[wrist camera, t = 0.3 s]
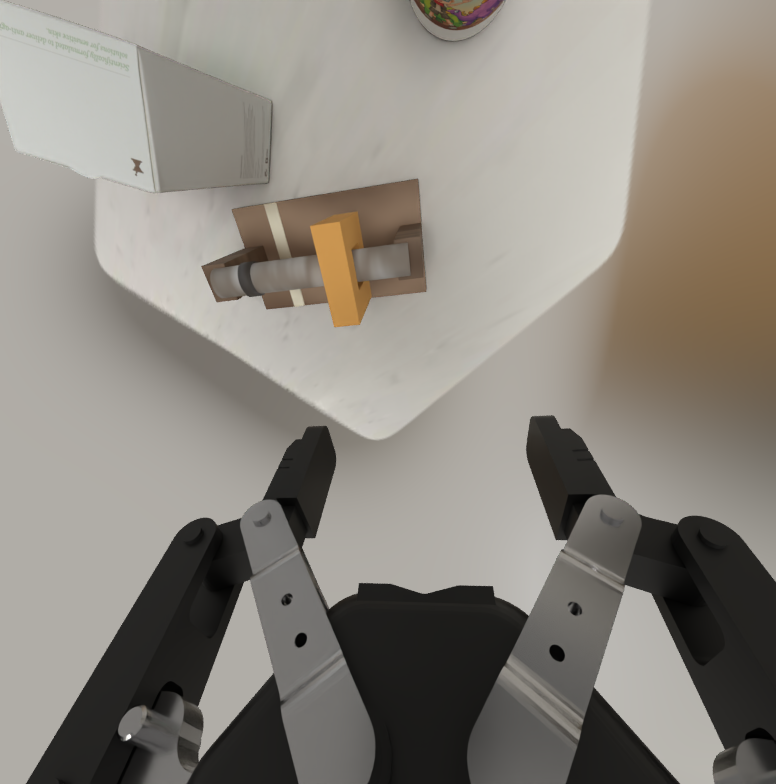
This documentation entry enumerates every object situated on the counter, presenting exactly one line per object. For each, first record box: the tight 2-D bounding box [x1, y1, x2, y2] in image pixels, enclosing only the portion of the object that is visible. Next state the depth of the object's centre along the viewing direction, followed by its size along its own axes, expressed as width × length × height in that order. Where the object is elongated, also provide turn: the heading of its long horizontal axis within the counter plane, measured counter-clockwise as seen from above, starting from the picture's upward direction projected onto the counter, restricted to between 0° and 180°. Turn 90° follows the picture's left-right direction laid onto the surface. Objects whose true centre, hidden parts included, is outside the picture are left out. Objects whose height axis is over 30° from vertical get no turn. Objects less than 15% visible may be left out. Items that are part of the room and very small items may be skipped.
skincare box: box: [0, 0, 272, 193], centre depth 23 cm, size 8×7×16 cm
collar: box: [310, 211, 372, 327], centre depth 26 cm, size 7×2×7 cm, turn 8°
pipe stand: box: [201, 179, 426, 309], centre depth 30 cm, size 10×18×10 cm, turn 98°
